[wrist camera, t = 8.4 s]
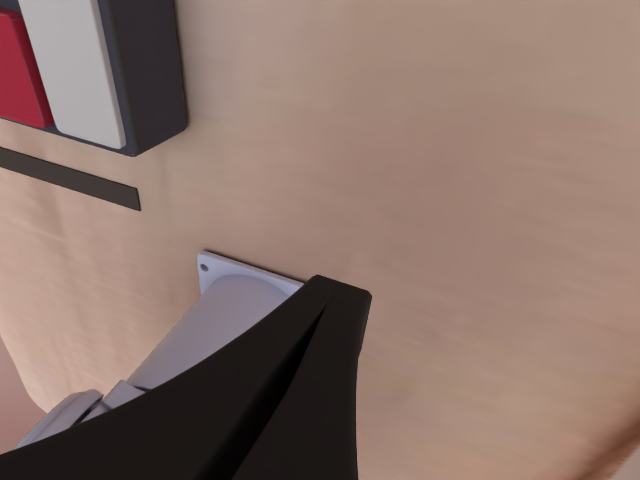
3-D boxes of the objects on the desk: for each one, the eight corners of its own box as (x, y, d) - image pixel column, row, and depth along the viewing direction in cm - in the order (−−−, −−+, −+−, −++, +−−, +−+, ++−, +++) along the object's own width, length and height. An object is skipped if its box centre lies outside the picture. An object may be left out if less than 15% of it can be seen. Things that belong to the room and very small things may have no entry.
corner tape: (140, 210, 27) (139, 211, 27) (-20, 159, 30) (-21, 160, 30) (51, -284, 15) (48, -285, 15) (-199, -285, 18) (-202, -286, 18)
